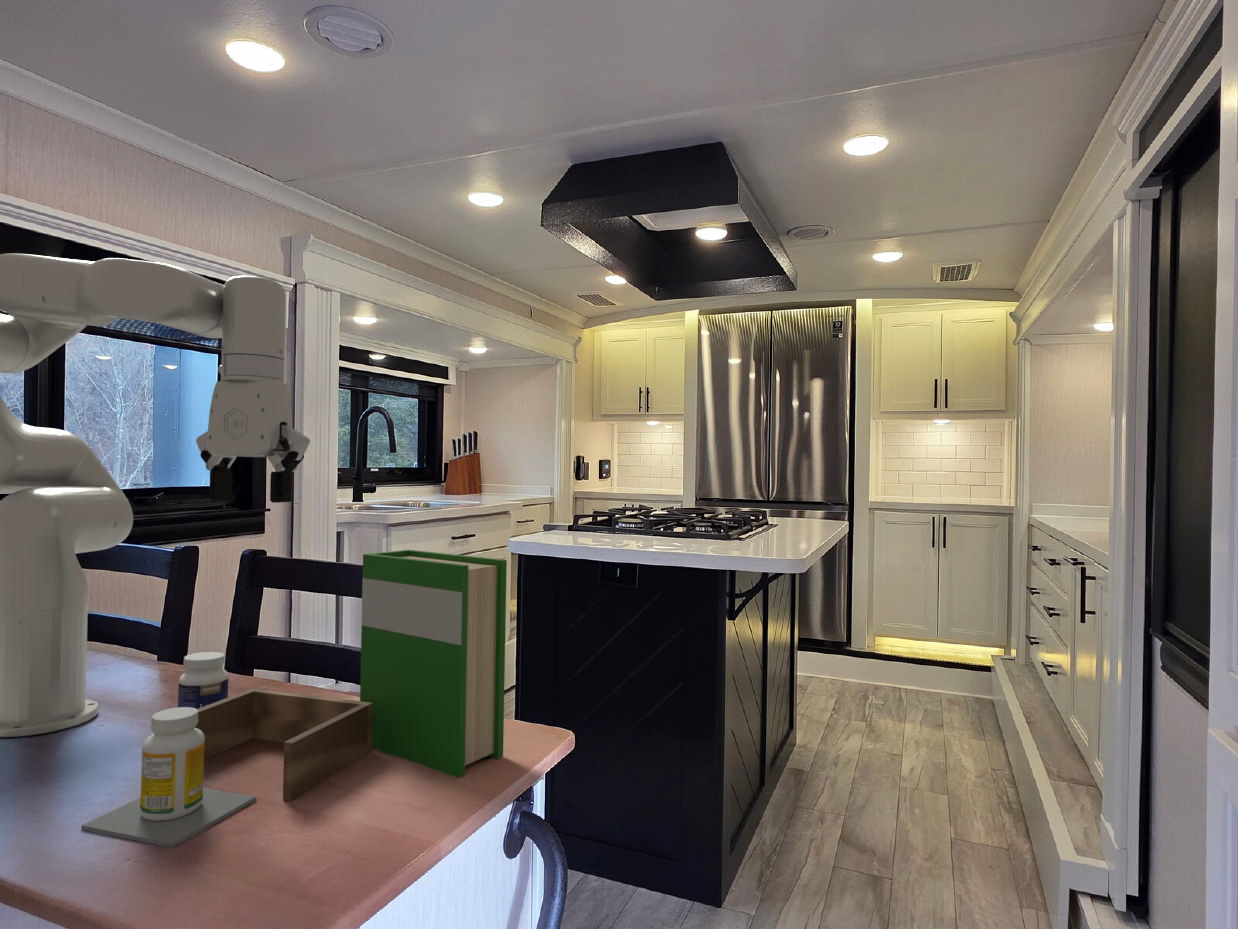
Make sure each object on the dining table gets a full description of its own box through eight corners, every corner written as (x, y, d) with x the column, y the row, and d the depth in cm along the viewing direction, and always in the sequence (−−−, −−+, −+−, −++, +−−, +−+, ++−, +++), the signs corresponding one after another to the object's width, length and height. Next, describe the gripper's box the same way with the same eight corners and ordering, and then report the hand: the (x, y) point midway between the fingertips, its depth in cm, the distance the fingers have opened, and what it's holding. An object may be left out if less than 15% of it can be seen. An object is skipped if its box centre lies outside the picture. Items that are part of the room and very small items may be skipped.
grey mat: (81, 829, 69) (81, 825, 69) (172, 786, 78) (172, 782, 78) (172, 848, 66) (172, 843, 66) (255, 800, 75) (256, 796, 75)
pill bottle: (204, 741, 91) (206, 662, 91) (166, 737, 92) (167, 659, 92) (237, 725, 97) (238, 651, 97) (200, 722, 98) (202, 649, 98)
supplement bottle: (146, 828, 68) (148, 726, 68) (135, 808, 72) (137, 712, 72) (209, 810, 72) (211, 714, 72) (195, 792, 76) (198, 701, 76)
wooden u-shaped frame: (155, 778, 80) (157, 724, 80) (251, 734, 94) (253, 688, 94) (290, 801, 75) (292, 743, 75) (371, 751, 89) (372, 702, 89)
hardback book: (503, 756, 88) (506, 560, 88) (458, 777, 82) (462, 566, 82) (405, 727, 97) (409, 549, 98) (359, 743, 91) (363, 554, 92)
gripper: (177, 370, 94) (174, 500, 94) (287, 366, 90) (284, 504, 89) (223, 377, 102) (220, 498, 101) (327, 374, 97) (324, 502, 97)
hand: (250, 501), depth 95 cm, fingers open, 9 cm apart
